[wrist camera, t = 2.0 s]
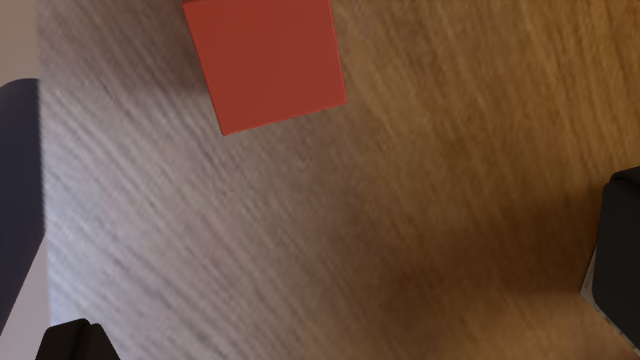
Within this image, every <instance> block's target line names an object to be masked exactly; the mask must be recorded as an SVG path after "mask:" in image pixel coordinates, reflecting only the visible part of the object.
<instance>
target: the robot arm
mask: <svg viewBox="0 0 640 360" xmlns="http://www.w3.org/2000/svg"><path fill="white" fill-rule="evenodd" d="M592 296H593V299H594V301H595V303H596V305H597V306H598V307H599V308H600V310H601V311H602V312H603V313H604V314H605V315H606V316H607V317H608V318H609V319H610V320H611V321H612V322H613V323H614V324H615V325H616V326H617V328H618V329H619V330H620V331H621V332H622V333H623V334H624V335H625V336H626V337H627V338H628V339H629V340H630V341H631V342H632V343H633V344H634V345H635V346H636V347H637V349H638V350H639V351H640V166H638V167H634V168H630V169H627V170H623V171H619V172H616V173H614V174H613V175H612V176H611V178H610V181H609V183H607V184H606V185H605V186H604V190H603V197H602V205H601V213H600V222H599V230H598V238H597V247H596V255H595V263H594V272H593V280H592ZM35 360H120V358H119V356H118V354H117V353H116V351H115V349H114V347H113V346H112V344H111V342H110V340H109V338H108V337H107V335H106V333H105V331H104V329H103V328H102V326H101V325H100V324H98V323H95V324H92V325H91V324H90V323H89V321H88V320H86V319H85V318H81V319H77V320H74V321H70V322H67V323H63V324H59V325H56V326H52V327H49V328H48V329H47V330H46V332H45V333H44V336H43V339H42V342H41V345H40V347H39V350H38V353H37V356H36V359H35Z"/></svg>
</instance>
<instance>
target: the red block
mask: <svg viewBox="0 0 640 360" xmlns="http://www.w3.org/2000/svg"><path fill="white" fill-rule="evenodd" d="M181 6H182V9H183V13H184V16H185V19H186V22H187V25H188V29H189V32H190V35H191V38H192V41H193V44H194V48H195V51H196V54H197V57H198V60H199V63H200V67H201V70H202V73H203V76H204V79H205V83H206V86H207V89H208V92H209V95H210V98H211V102H212V105H213V108H214V111H215V114H216V118H217V121H218V124H219V127H220V130H221V133H222V135H223V136H225V135H229V134H232V133H236V132H240V131H244V130H248V129H251V128H255V127H259V126H263V125H267V124H271V123H274V122H278V121H282V120H286V119H290V118H294V117H297V116H301V115H305V114H309V113H313V112H317V111H320V110H324V109H328V108H332V107H336V106H339V105H343V104H346V103H347V97H346V91H345V85H344V80H343V74H342V68H341V62H340V56H339V51H338V45H337V39H336V33H335V27H334V21H333V16H332V10H331V4H330V0H182V4H181Z"/></svg>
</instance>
